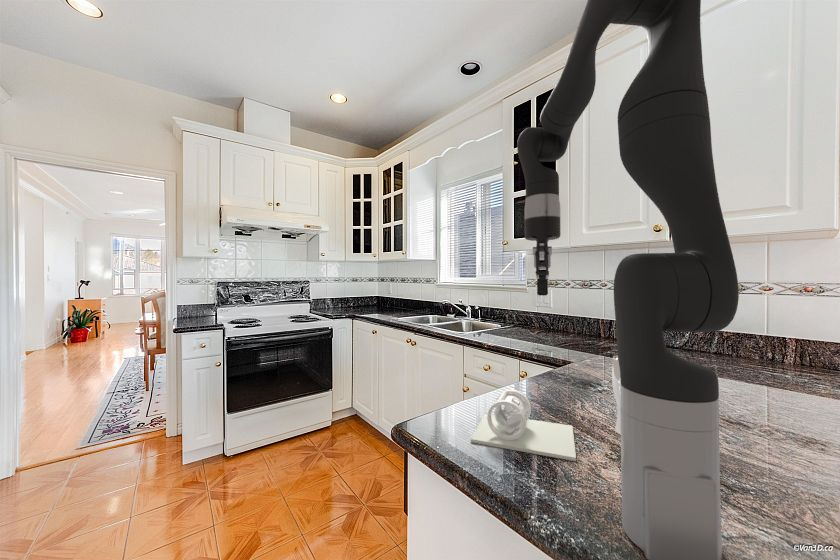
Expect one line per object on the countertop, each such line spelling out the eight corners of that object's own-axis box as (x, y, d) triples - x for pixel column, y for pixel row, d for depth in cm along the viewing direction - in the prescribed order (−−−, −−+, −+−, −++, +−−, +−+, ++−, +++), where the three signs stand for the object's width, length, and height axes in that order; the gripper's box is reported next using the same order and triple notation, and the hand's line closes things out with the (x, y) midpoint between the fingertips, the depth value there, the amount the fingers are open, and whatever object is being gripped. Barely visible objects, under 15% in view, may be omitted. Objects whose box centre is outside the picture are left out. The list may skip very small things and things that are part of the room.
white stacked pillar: (540, 407, 73) (532, 435, 59) (511, 419, 76) (497, 447, 62) (523, 377, 75) (511, 397, 61) (496, 390, 77) (479, 411, 64)
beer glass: (634, 443, 62) (633, 363, 63) (604, 428, 69) (603, 355, 69) (662, 439, 64) (661, 361, 64) (631, 424, 71) (630, 354, 71)
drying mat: (576, 461, 56) (576, 457, 56) (470, 442, 63) (470, 439, 63) (572, 428, 69) (572, 425, 69) (485, 415, 76) (485, 413, 76)
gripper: (561, 210, 67) (561, 296, 67) (559, 221, 79) (559, 294, 79) (522, 213, 70) (522, 296, 69) (526, 223, 82) (526, 294, 82)
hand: (542, 295), depth 74 cm, fingers closed
